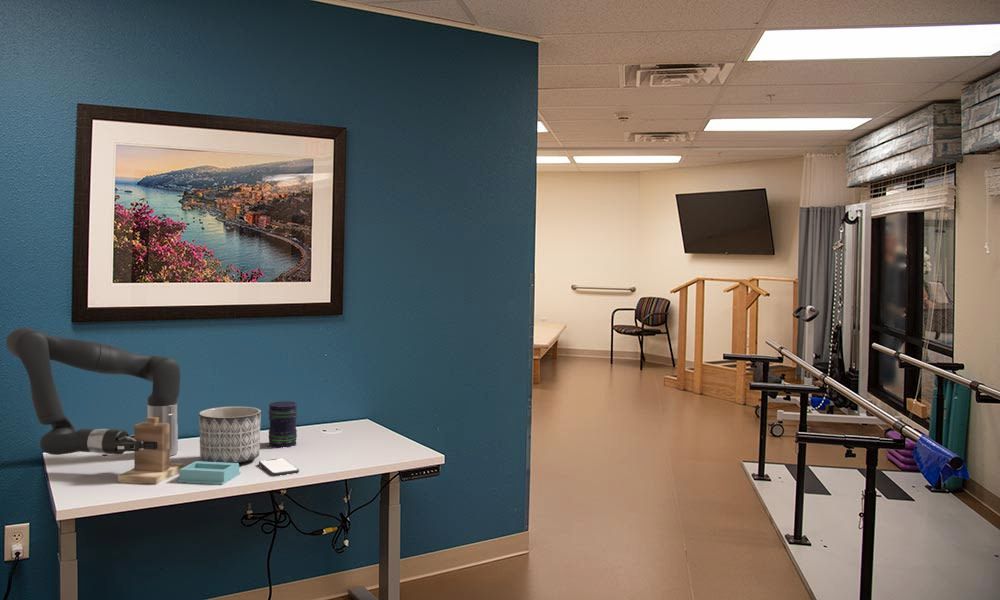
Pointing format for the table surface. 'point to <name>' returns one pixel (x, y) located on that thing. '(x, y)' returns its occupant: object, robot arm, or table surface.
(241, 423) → the planter
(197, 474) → the teal rack
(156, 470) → the brown wooden bottle
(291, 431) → the storage jar
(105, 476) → the table surface
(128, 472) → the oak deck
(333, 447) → the table surface
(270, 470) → the phone case
